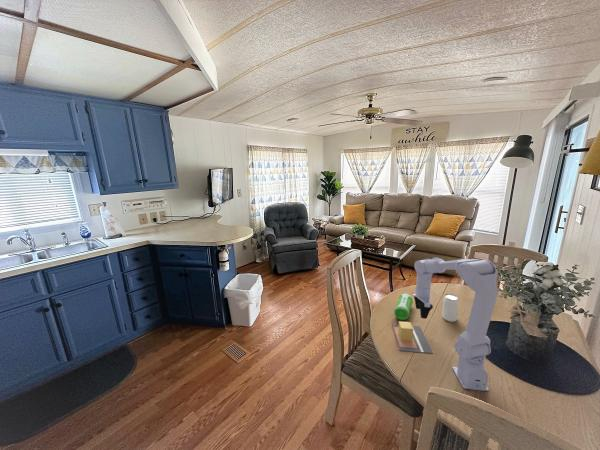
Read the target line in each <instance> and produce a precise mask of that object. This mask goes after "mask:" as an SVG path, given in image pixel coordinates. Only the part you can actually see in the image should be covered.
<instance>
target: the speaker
mask: <svg viewBox="0 0 600 450" xmlns="http://www.w3.org/2000/svg"><path fill="white" fill-rule="evenodd" d="M413 302H414V301H413V296H411V295H410V294H409V293H404V292H403V293H402V294H401V295H400V296H399V297H398V299H397V302H396V306H395V308H394V311H393V313H394V316H395V318H396V319H398V320H400V321H405V320H407V319H408V318H409V317H410V313H411V309H412V305H413V304H414V303H413Z"/></svg>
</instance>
